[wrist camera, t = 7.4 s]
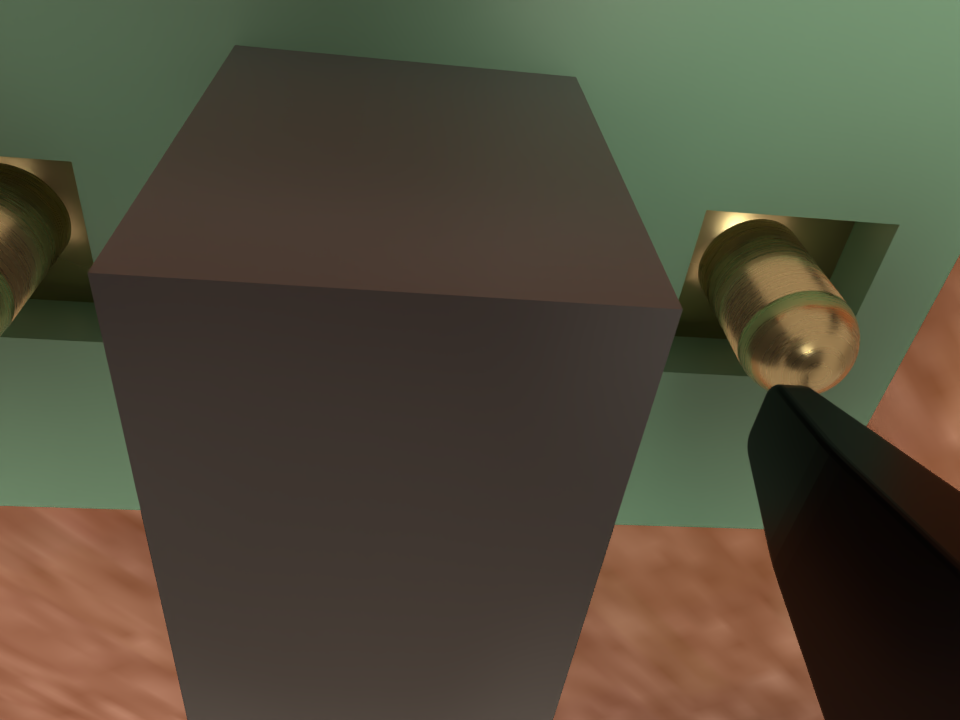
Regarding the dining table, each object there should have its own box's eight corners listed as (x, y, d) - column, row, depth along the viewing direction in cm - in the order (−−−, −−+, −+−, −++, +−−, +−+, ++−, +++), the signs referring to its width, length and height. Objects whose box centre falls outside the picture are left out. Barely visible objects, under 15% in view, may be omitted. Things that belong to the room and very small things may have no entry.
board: (1069, -70, 10) (1680, 102, 5) (790, 491, 16) (946, 810, 11) (-371, -245, 8) (-1529, -237, 3) (-66, 460, 14) (-316, 823, 9)
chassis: (1076, -265, 11) (1543, -277, 6) (757, 456, 19) (859, 675, 15) (-358, -479, 9) (-1162, -716, 4) (-20, 425, 17) (-179, 666, 13)
